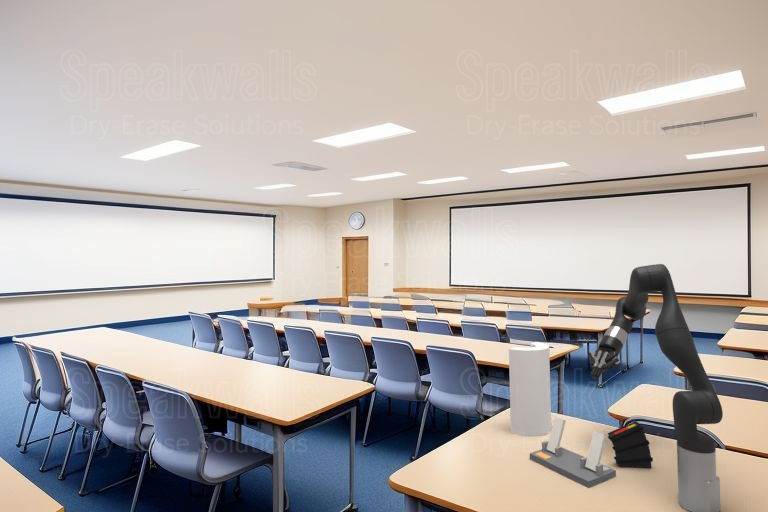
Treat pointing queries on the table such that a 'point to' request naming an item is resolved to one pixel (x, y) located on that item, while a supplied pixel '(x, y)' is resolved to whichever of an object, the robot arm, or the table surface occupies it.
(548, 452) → the switch panel
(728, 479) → the table surface
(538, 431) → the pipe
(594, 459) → the inner lever
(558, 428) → the outer lever
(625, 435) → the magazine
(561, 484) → the table surface
